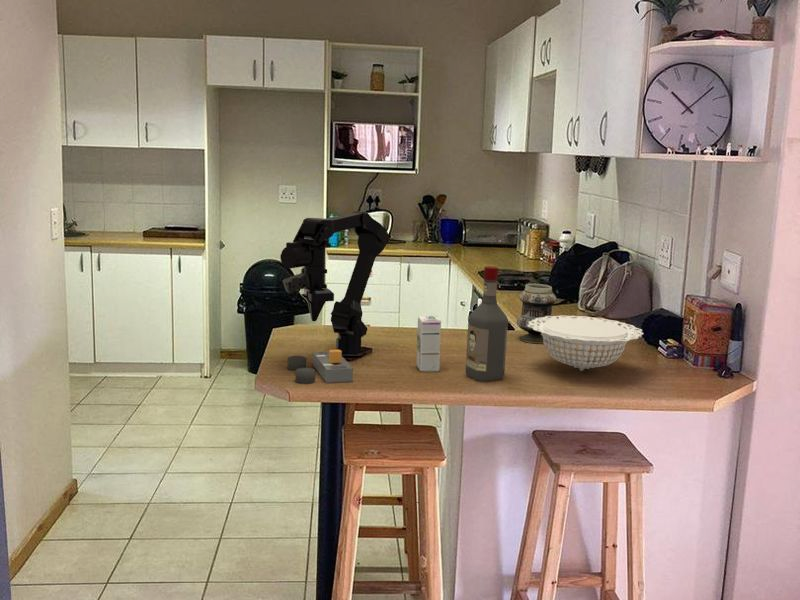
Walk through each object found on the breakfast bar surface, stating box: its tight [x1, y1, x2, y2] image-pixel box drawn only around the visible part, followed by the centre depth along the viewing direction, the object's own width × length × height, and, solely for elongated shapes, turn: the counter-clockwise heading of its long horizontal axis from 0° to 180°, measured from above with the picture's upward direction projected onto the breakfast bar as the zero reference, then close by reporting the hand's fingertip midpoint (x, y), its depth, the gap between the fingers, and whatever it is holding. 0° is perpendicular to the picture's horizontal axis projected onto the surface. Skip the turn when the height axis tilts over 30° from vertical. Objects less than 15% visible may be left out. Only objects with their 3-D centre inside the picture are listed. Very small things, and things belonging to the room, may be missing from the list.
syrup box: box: [415, 315, 442, 372], centre depth 228 cm, size 6×6×14 cm
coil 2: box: [295, 367, 316, 385], centre depth 214 cm, size 5×5×3 cm
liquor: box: [464, 266, 509, 383], centre depth 221 cm, size 9×9×30 cm
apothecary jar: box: [516, 283, 557, 344], centre depth 267 cm, size 12×12×18 cm
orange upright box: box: [328, 349, 342, 363], centre depth 218 cm, size 3×2×3 cm, turn 107°
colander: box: [528, 315, 644, 372], centre depth 233 cm, size 32×32×13 cm
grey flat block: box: [312, 350, 354, 384], centre depth 222 cm, size 7×18×4 cm, turn 17°
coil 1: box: [287, 355, 308, 372], centre depth 225 cm, size 5×5×3 cm
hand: (313, 320), depth 227 cm, fingers closed
